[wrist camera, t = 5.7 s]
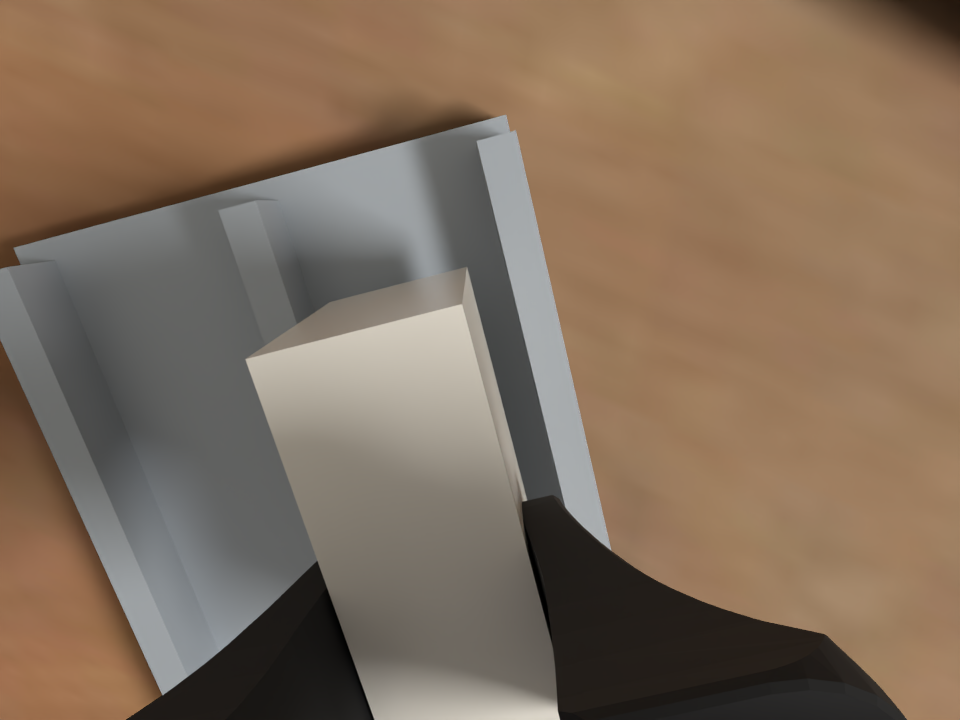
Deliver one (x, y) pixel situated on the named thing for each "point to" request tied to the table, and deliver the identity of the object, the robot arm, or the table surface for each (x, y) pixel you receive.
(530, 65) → the table surface
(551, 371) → the grey ridged tray
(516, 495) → the white rectangular block
